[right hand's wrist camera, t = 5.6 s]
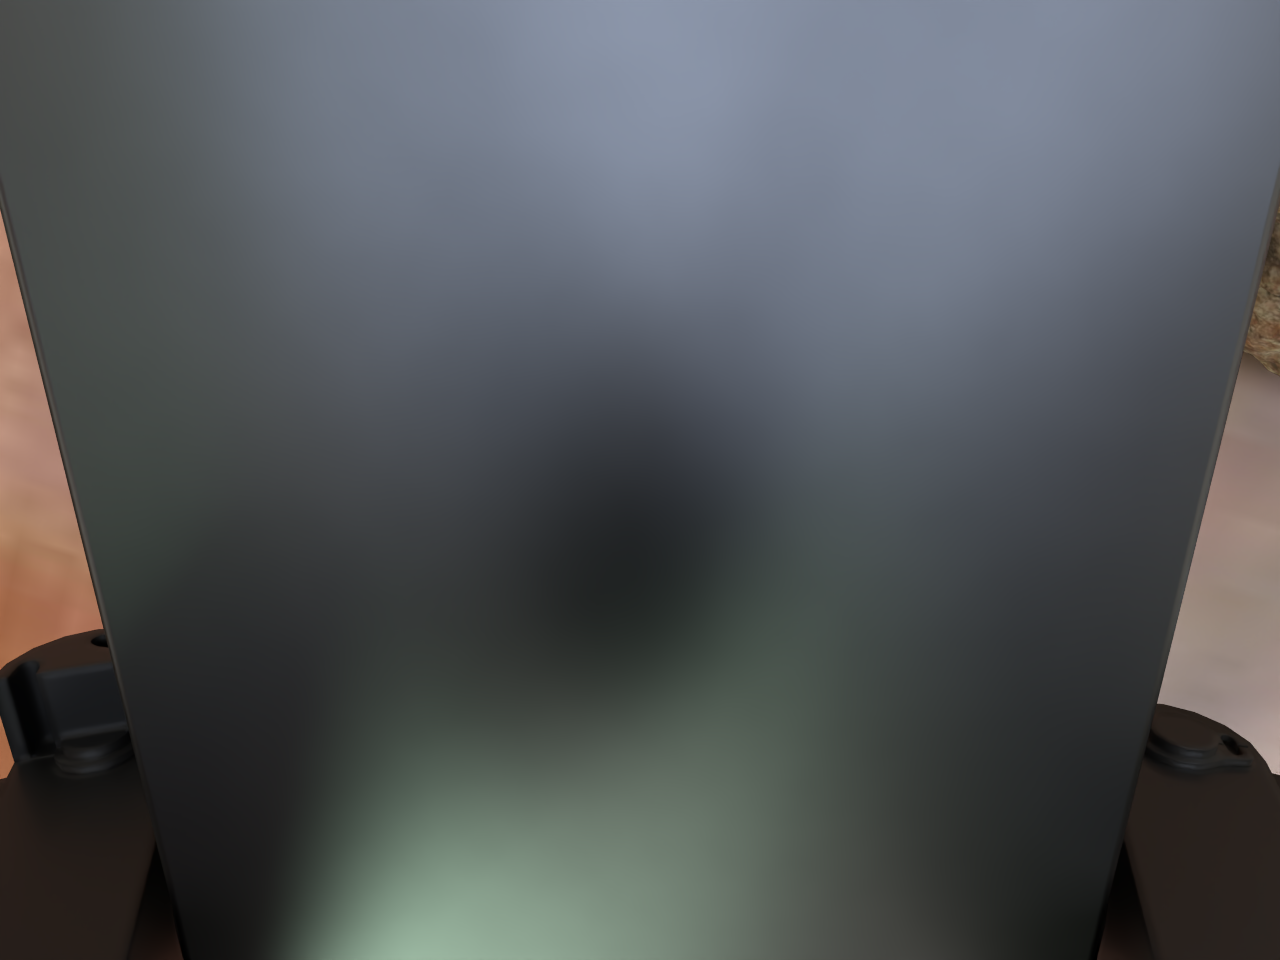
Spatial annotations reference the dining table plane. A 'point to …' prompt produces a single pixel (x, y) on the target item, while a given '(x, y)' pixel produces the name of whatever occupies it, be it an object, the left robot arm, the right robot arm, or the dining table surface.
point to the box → (639, 450)
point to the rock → (1267, 309)
